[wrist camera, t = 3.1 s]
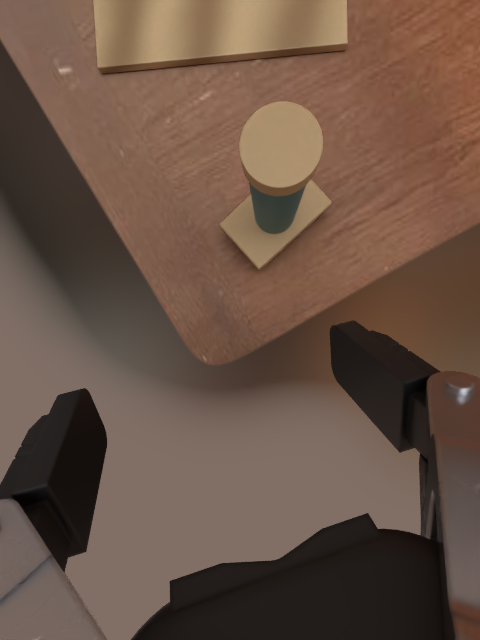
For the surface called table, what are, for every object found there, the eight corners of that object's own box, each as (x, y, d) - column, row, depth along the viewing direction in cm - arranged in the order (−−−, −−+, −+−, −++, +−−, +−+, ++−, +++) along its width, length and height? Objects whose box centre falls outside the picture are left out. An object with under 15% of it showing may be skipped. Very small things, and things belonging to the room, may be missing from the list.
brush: (260, 272, 28) (252, 248, 14) (223, 231, 28) (179, 166, 14) (325, 212, 27) (388, 122, 13) (288, 171, 27) (310, 35, 13)
